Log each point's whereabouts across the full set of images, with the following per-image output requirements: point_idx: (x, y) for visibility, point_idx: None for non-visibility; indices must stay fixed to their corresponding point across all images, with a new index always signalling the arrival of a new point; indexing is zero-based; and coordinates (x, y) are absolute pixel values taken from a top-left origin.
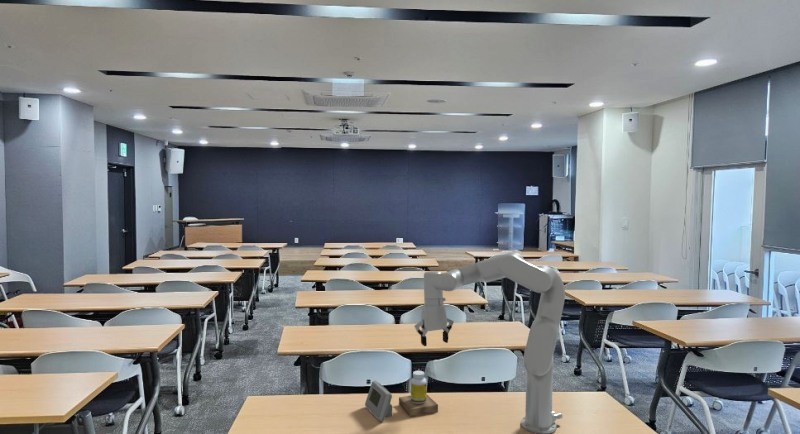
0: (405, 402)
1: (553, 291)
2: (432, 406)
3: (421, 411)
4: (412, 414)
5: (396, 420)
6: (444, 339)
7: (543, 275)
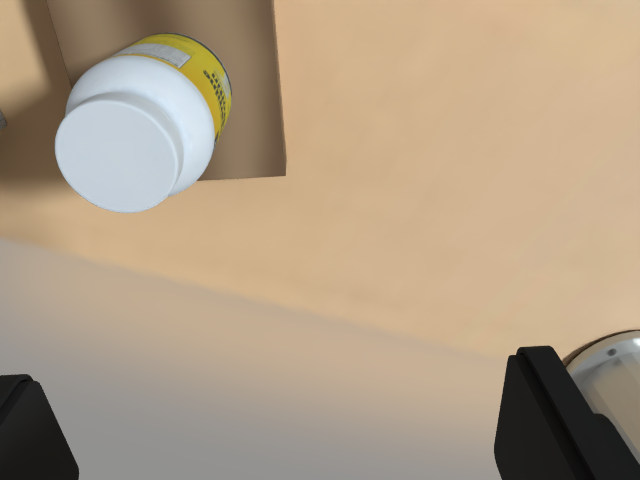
0: None
1: None
2: (248, 175)
3: None
4: None
5: (32, 180)
6: (519, 446)
7: None
